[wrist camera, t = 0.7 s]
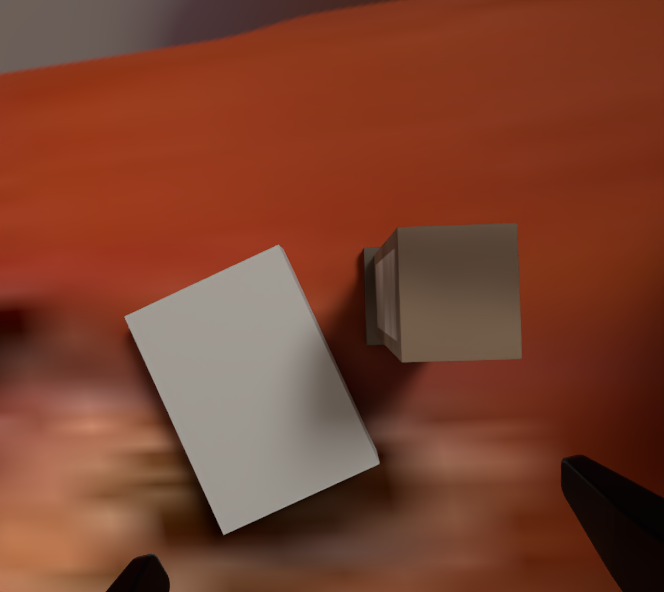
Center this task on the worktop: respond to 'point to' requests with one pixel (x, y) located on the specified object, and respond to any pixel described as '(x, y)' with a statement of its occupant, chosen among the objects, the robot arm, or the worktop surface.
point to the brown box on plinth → (445, 293)
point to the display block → (252, 389)
